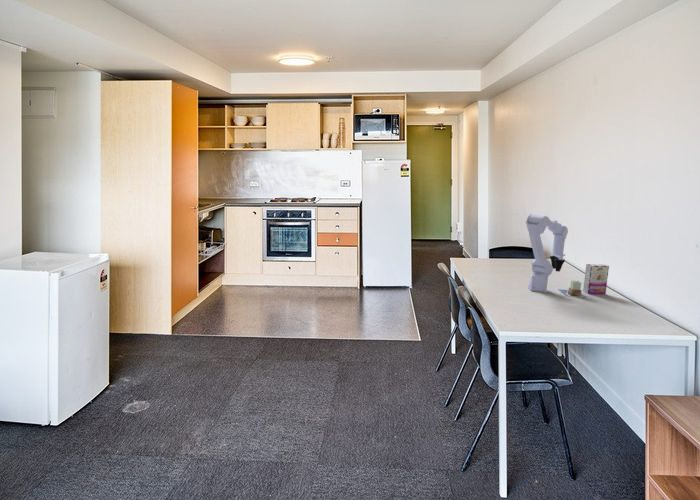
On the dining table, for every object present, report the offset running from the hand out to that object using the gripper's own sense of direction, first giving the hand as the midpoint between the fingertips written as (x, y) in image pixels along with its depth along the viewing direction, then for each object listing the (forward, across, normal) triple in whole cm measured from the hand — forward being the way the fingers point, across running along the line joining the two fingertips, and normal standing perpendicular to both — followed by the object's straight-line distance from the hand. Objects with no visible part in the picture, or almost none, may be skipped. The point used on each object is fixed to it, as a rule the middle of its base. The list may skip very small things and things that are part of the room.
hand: (555, 269), depth 289 cm
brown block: (+10, -18, -6) cm, 21 cm away
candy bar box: (+11, -8, -19) cm, 24 cm away
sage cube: (+6, -18, -6) cm, 20 cm away
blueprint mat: (+10, -14, -6) cm, 18 cm away
